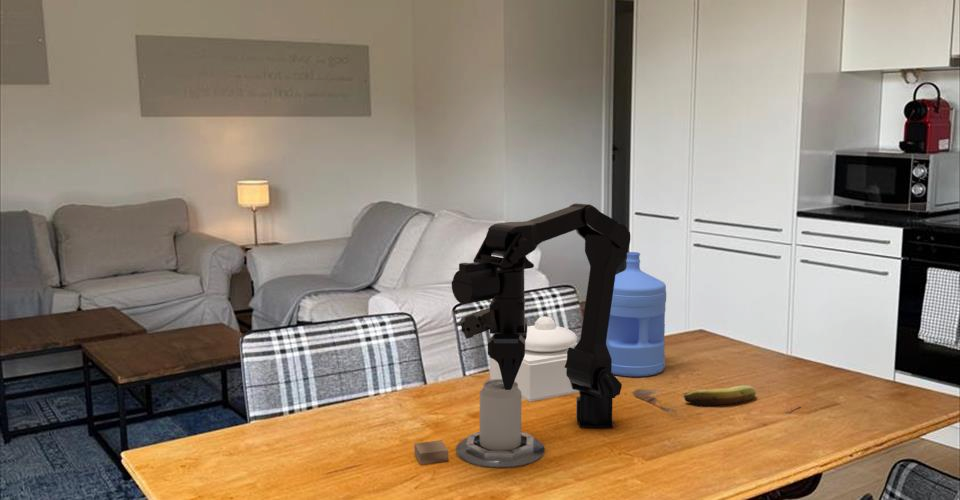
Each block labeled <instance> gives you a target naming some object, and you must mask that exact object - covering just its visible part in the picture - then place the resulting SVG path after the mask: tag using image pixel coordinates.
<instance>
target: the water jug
mask: <svg viewBox="0 0 960 500" xmlns="http://www.w3.org/2000/svg"><path fill="white" fill-rule="evenodd" d="M640 255H641V253H640V252H638V251H637V252H635V251H628V252H627V255H626V259H625V261H626V267H625V269H624V270H623V271H621V272H618V273H616V275H615V282H614V290H613V297H612V304H611V311H610V318H609V325H608V332H607V339H606V345H607V348H608V351H609V353H610V356H611V359H612V367H611V373H612V374H613V375H614V376H621V377H631V378H633V377H634V378H639V377H651V376H654V375H658V374H660V373H662V372H663V371H664V370H665V367H666V359H665V348H666V347H665V333H666V332H665V330H666V329H665V328H666V327H665V326H666V323H665V317H666V316H665V315H666V303H667V290H666V289H667V285H666V282H664V281H662V280H660V279H658V278H656V277H654V276H652V275H650V274H649V273H646V272H644V271H643V270H641V268H640V264H641V260H640Z"/></svg>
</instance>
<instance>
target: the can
mask: <svg viewBox="0 0 960 500" xmlns="http://www.w3.org/2000/svg"><path fill="white" fill-rule="evenodd" d="M482 384H483V385H482V386H483V387H482V388H481V389H480V390H479V432H480V445H481V446H482V447H484V449H485V450H488V451H511V450H514V449H517V448H518V447H519V446H520V445H521V432H522V397H521V391H520V390H519V388H518V383H517V382H515V381H514V384H513V386H512V389H511V390H505V388H504V384H503V380H502V379H493V380H490V379H489V380H486V381H485V382H483V383H482Z"/></svg>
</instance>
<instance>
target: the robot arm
mask: <svg viewBox="0 0 960 500" xmlns="http://www.w3.org/2000/svg"><path fill="white" fill-rule="evenodd" d="M628 229H629V228H628V227H627V226H626V225H625V224H622V223H620V222H618V221H617V220H615V219H613V217H610V216H608V215H607V214H604V213H602V212H601V211H600V210H599V209H598V208H596V206H594V205H592V204H587V203H586V204H585V203H578V202H577V203H573V204H571V205H569V206H567V207H564V208H562V209H559V210H555V211H552V212H550V213H547V214H544V215H541V216H538V217H535V218H532V219H530V220H525V221H508V222H507V221H506V222H499V223H494V224H492V225H490V226H489V227H488V229H487V232H486V235H485V238H484V239H483V242H482V243H481V245H480V247H479V248H478V250H477V253H476V255H475V256H474V258H473V261H472V262H460V263H458V271H456V272H455V274H454V275H453V277H452V280H451V290H452V293H453V294H452V295H453V297H454V298H455V300H456V301H457V302H458V303H460V304H461V305H465V304H473V303H477V302H483V301H488V300H490V304H489V307H488V308H484V309H481V310H478V311H475V312H472V313H469V314H467V315H464V316H461V318H460V320H459V325H460V327H461V329H460V331H461V332H462V333H463V335H464V337H465V339H471V338H473V337H474V336H476V335H478V334H482V333H485V332H488V331H489V334H491V335H492V334H493V335H492V336H490V337H489V338H488V342H487V356H488V357H489V359H490V358H492V359H494V360H495V361H496V362H498V364H499V368H500V372H501V376H502V380H503V384H504V388H505V390H511V389H512V386H513V384H514V381H515V378H516V376H517V373H518V371H519V368H520V366H521V363H522V361H523V358H524V356H525V340H526V337H527V327H528V319H527V318H526V317H525V316H526V315H525V314H526V313H525V311H526V310H525V308H526V307H525V305H526V298H525V270H530V269H533V268H534V267H535V264H534V263H533V262H532V261H530V260H529V259H528V258H527V256H528V255H529V254H531V253H532V252H534V251H535V250H536V249H537V247H538V246H539V245H540V244H541V243H543V242H546V241H549V240H552V239H553V238H557V237H560V236H562V235H565V234H567V233H570V232H573V231H576V233H577V235H579V236H580V237H581V238H582V239H583V240H584V253H585V256H586V258H587V261H588V263H589V267H590V268H589V269H590V270H589V273H588V274H589V275H588V281H587V282H588V284H587V288H586V289H587V290H586V297H585V303H584V312H583V318H582V325H581V333H580V338H579V340H578V341H577V342H576V343H577V345H576V346H575V347H574V348H569V349H568V351H567V361H566V364H565V368H567V371H566V374H567V377H568V378H569V380H570V382H571V386H572V389H574V390H578V391H579V392H578V395H579V396H577V397H576V399H575V401H576V403H575V405H576V408H575V409H576V411H575V412H576V413H575V415H576V416H575V417H576V422H578V425H579V428H594V429H595V428H601V429H602V428H605V429H606V428H607V429H608V428H609V429H611V428H613V429H614V422H613V399H615V398H616V396H619V395H620V394H621V389H622V386H623V384H622V383H621V381H619V379H618V378H617V377H616V375H614V374H612V373H611V367H612V359H611V356H610V353H609V351H608V348H607V345H606V339H607V332H608V325H609V318H610V311H611V304H612V297H613V290H614V282H615V275H616V274H617V270H618V269H619V267H620V266H621V264H622V263H623V262H624V261H625V260H626V259H627V253H628V252H629V248H630V243H631V232H630V231H629V230H628Z"/></svg>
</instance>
